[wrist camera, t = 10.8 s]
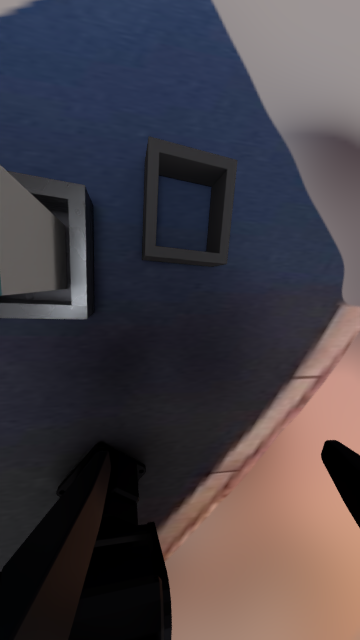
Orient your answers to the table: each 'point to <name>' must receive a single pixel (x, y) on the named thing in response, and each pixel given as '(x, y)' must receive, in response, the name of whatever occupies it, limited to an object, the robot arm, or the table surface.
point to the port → (77, 217)
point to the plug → (29, 242)
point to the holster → (198, 170)
